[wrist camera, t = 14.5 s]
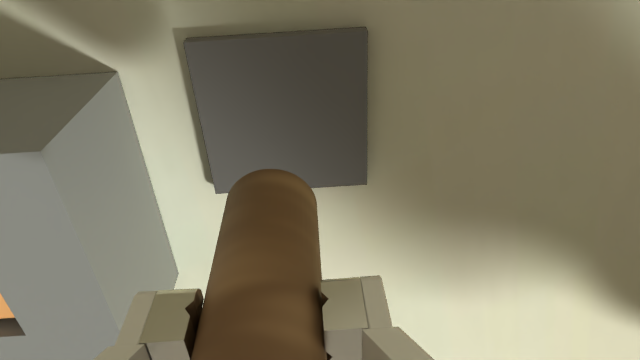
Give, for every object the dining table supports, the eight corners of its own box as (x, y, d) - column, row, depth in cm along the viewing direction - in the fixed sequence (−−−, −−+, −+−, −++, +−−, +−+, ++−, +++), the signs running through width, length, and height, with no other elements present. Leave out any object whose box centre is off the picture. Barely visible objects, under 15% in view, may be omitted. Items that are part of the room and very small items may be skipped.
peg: (314, 165, 15) (340, 542, 6) (318, 239, 16) (344, 619, 8) (219, 171, 15) (113, 557, 6) (233, 245, 16) (164, 633, 8)
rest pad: (365, 27, 19) (367, 30, 19) (365, 177, 23) (367, 184, 23) (186, 38, 19) (183, 42, 19) (217, 187, 23) (215, 193, 23)
